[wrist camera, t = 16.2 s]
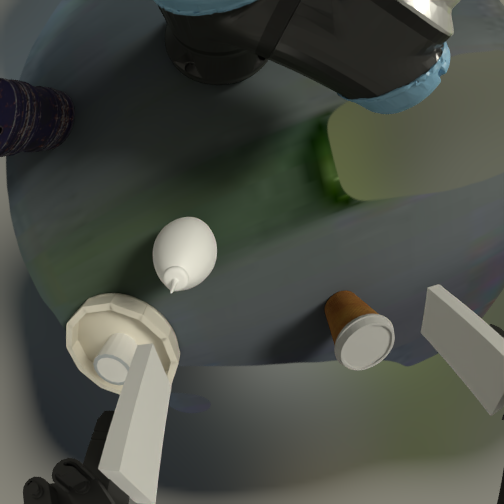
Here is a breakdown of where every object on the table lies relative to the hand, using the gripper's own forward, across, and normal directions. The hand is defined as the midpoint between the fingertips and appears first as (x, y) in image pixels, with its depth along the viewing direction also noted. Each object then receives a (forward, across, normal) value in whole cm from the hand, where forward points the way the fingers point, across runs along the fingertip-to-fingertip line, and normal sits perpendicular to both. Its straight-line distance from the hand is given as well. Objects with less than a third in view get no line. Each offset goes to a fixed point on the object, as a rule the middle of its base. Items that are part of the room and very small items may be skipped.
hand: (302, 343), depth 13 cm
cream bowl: (+32, -26, -20) cm, 46 cm away
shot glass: (+31, -26, -20) cm, 45 cm away
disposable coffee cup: (+32, +13, -20) cm, 40 cm away
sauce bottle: (+32, -9, -3) cm, 33 cm away
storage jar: (+32, -28, +20) cm, 47 cm away
